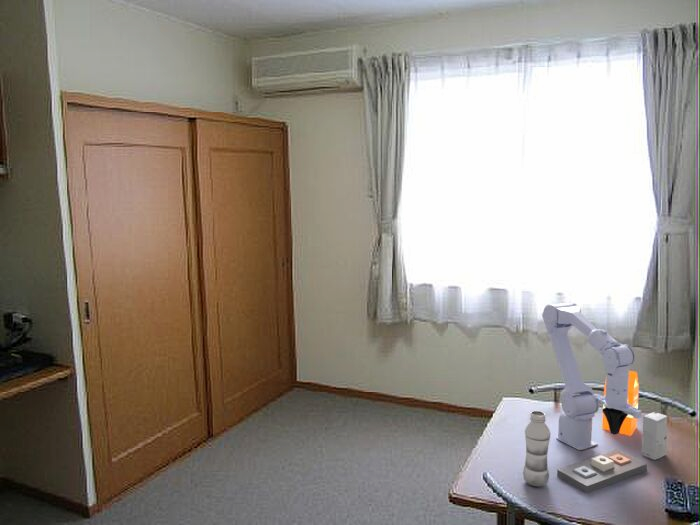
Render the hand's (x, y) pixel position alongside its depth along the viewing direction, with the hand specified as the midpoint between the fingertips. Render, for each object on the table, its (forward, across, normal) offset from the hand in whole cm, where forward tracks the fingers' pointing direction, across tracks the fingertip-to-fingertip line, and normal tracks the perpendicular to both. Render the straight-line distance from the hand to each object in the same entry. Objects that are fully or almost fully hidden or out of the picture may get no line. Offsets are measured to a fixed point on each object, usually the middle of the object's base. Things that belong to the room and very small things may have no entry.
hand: (614, 433), depth 165 cm
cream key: (+7, +2, -7) cm, 10 cm away
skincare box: (+10, +2, +15) cm, 18 cm away
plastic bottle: (+10, -3, -27) cm, 29 cm away
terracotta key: (+9, +2, 0) cm, 9 cm away
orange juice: (+10, -15, +22) cm, 28 cm away
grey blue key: (+9, +2, -14) cm, 17 cm away
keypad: (+9, +2, -7) cm, 12 cm away
